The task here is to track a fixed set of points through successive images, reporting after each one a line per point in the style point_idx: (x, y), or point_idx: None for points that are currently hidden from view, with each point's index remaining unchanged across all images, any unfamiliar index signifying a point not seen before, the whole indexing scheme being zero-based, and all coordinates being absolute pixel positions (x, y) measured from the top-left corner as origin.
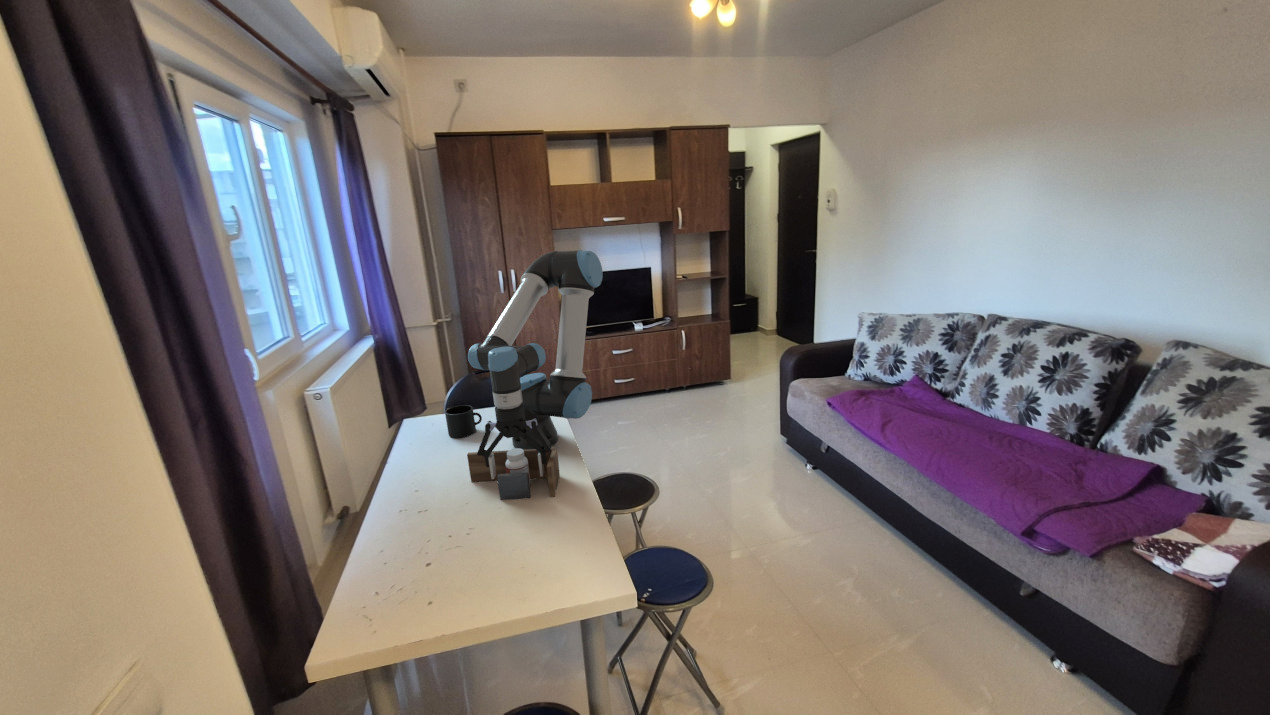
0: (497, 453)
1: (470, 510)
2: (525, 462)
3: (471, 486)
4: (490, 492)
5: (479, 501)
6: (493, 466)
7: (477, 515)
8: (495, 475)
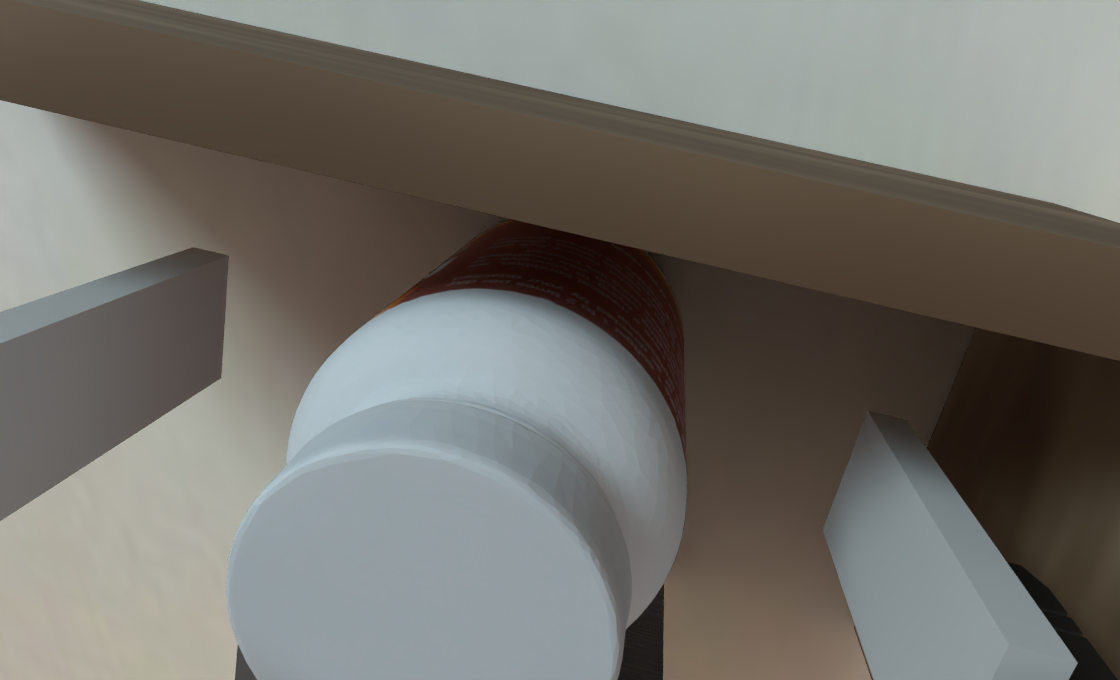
0: (40, 108)
1: (136, 572)
2: (639, 613)
3: (14, 116)
4: (250, 325)
5: (178, 458)
6: (113, 393)
7: (213, 662)
8: (219, 310)
